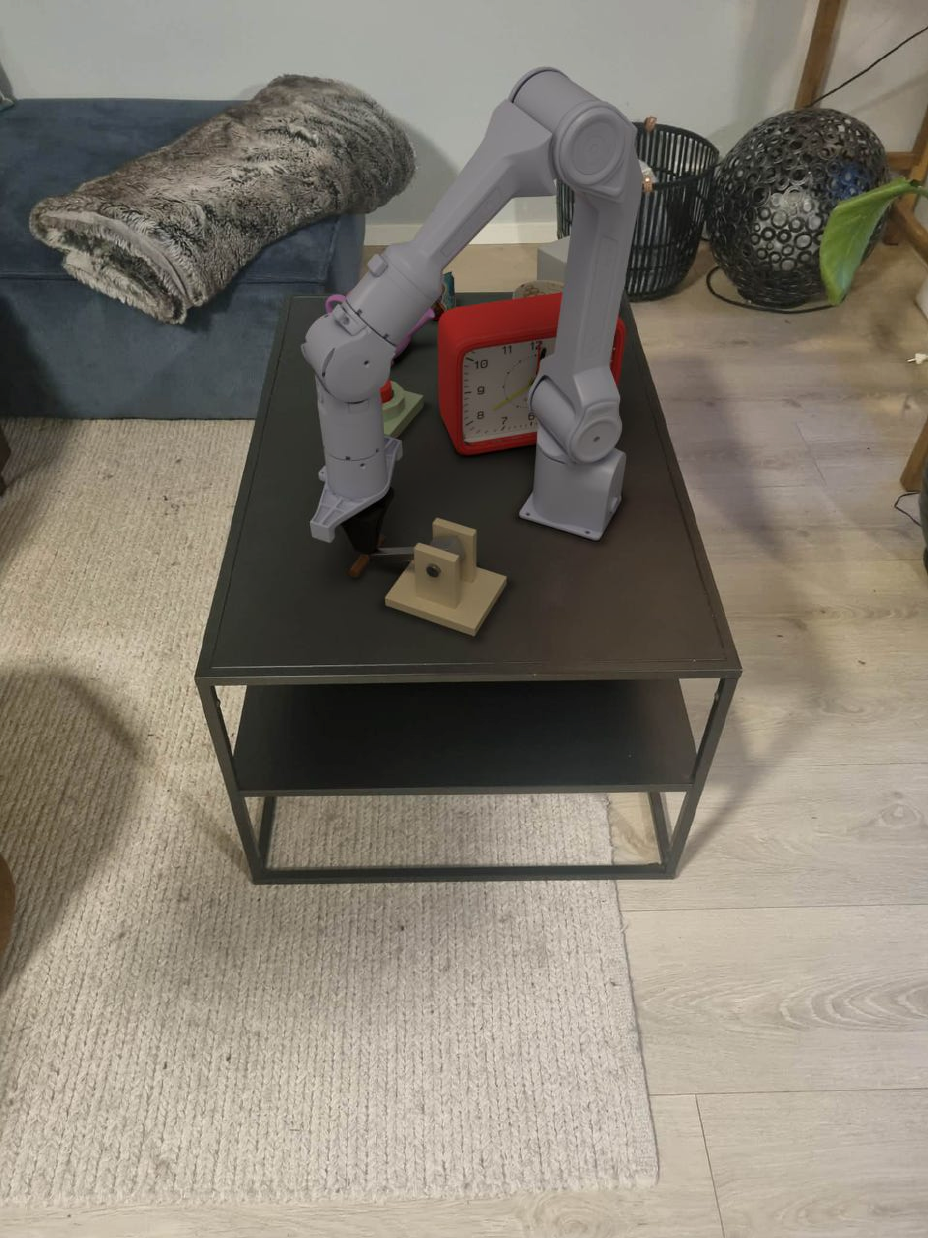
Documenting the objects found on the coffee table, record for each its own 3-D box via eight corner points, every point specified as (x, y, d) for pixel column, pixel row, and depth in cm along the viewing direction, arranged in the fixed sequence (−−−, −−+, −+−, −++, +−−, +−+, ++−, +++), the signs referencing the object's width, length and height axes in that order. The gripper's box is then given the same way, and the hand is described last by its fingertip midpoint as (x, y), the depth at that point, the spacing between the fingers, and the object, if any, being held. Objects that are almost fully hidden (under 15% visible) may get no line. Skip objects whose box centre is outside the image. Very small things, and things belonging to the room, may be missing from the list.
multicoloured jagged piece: (393, 241, 134) (430, 231, 135) (399, 288, 139) (434, 277, 140) (427, 278, 126) (466, 266, 128) (432, 325, 132) (469, 314, 133)
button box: (423, 406, 118) (423, 382, 115) (390, 446, 113) (388, 422, 110) (368, 391, 120) (366, 367, 118) (333, 429, 115) (330, 405, 112)
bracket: (385, 605, 95) (380, 549, 89) (420, 556, 100) (418, 500, 94) (474, 637, 92) (475, 581, 86) (506, 584, 97) (509, 528, 91)
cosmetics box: (589, 293, 137) (594, 222, 129) (618, 311, 133) (626, 239, 126) (533, 316, 133) (535, 244, 125) (562, 335, 129) (566, 262, 122)
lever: (354, 582, 96) (343, 564, 95) (382, 546, 100) (372, 528, 98) (448, 581, 89) (439, 562, 88) (474, 542, 93) (466, 523, 92)
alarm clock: (435, 416, 117) (432, 300, 105) (585, 392, 120) (598, 276, 108) (455, 463, 110) (454, 344, 99) (613, 436, 114) (630, 318, 102)
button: (397, 392, 115) (396, 380, 113) (383, 408, 112) (382, 395, 111) (371, 385, 116) (370, 373, 114) (357, 400, 114) (356, 388, 112)
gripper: (355, 390, 92) (365, 496, 102) (274, 475, 83) (294, 582, 93) (418, 408, 90) (423, 515, 100) (343, 497, 81) (356, 604, 91)
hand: (365, 549), depth 96 cm, fingers closed, pressing on lever
